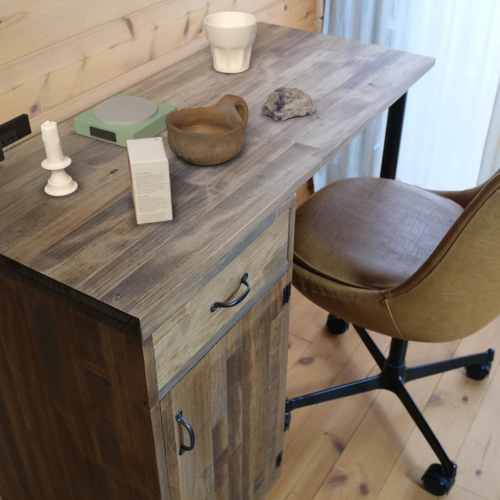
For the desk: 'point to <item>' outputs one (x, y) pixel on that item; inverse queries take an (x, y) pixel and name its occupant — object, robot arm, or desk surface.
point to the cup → (231, 39)
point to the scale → (123, 119)
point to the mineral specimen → (288, 104)
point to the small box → (149, 180)
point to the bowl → (208, 131)
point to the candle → (56, 162)
